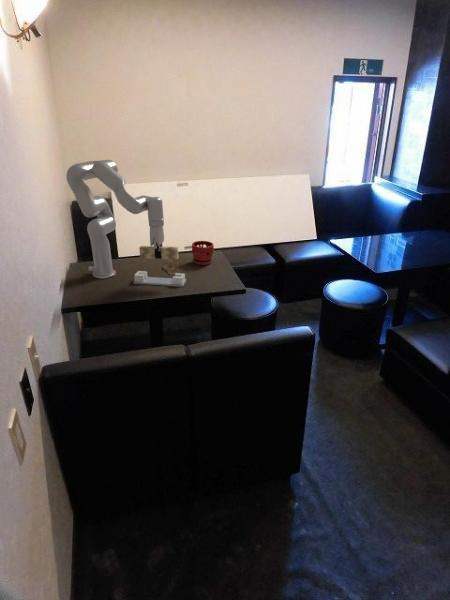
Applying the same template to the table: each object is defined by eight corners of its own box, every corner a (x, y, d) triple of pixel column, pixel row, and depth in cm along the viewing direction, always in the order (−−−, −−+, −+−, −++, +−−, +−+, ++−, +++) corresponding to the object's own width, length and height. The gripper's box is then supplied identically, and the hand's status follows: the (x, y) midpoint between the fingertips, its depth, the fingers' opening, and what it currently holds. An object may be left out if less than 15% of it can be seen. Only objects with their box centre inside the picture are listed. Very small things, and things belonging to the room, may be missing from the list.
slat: (140, 258, 213) (139, 247, 210) (141, 256, 215) (140, 246, 213) (177, 259, 210) (176, 248, 208) (178, 258, 212) (177, 247, 210)
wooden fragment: (180, 275, 229) (180, 273, 229) (160, 275, 228) (160, 273, 228) (181, 259, 252) (181, 258, 252) (163, 260, 252) (163, 258, 251)
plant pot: (193, 267, 240) (193, 247, 235) (191, 259, 252) (190, 241, 247) (215, 265, 242) (215, 246, 237) (211, 258, 254) (211, 239, 249)
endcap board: (133, 283, 217) (132, 275, 215) (138, 278, 224) (137, 270, 222) (182, 286, 213) (182, 278, 212) (186, 280, 221) (186, 273, 219)
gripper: (153, 218, 212) (156, 252, 220) (144, 226, 198) (147, 262, 206) (167, 218, 211) (170, 252, 219) (158, 226, 197) (161, 262, 205)
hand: (159, 256), depth 212 cm, fingers closed on slat, 2 cm apart
